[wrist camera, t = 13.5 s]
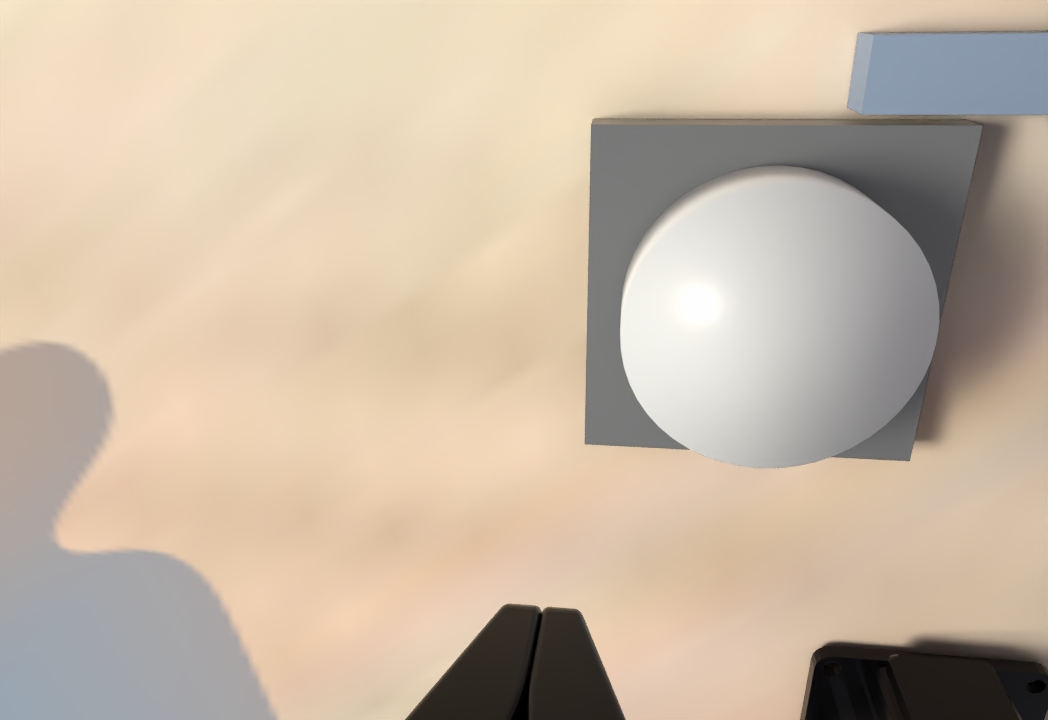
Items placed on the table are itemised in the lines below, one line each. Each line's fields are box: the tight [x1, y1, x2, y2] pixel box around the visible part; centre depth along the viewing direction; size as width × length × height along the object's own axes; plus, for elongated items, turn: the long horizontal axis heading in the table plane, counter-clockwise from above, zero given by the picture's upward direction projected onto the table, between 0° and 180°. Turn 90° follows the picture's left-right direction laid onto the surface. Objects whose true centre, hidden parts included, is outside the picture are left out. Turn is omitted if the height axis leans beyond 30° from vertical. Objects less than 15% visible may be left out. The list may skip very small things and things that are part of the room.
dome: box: [620, 165, 939, 468], centre depth 17 cm, size 6×6×2 cm
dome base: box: [585, 119, 983, 461], centre depth 19 cm, size 8×8×1 cm
